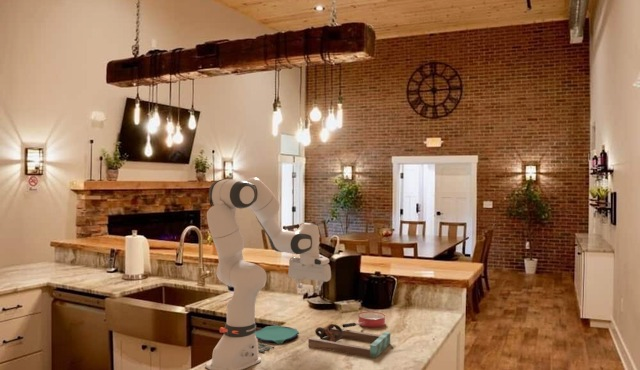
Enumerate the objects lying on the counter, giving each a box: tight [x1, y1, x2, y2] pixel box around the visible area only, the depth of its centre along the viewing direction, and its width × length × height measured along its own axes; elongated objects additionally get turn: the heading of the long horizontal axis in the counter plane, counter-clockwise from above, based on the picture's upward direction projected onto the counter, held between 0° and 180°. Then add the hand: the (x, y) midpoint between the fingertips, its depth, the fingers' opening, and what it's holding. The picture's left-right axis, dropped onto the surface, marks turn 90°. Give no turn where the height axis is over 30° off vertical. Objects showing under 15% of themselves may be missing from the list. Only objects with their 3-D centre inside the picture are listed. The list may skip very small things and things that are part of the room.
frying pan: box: [341, 311, 386, 329], centre depth 236 cm, size 32×13×6 cm, turn 150°
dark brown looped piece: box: [314, 323, 343, 342], centre depth 220 cm, size 12×9×8 cm
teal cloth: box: [255, 325, 300, 354], centre depth 221 cm, size 20×30×2 cm, turn 149°
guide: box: [307, 327, 391, 359], centre depth 215 cm, size 19×30×5 cm, turn 64°
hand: (309, 289), depth 224 cm, fingers open, 8 cm apart
